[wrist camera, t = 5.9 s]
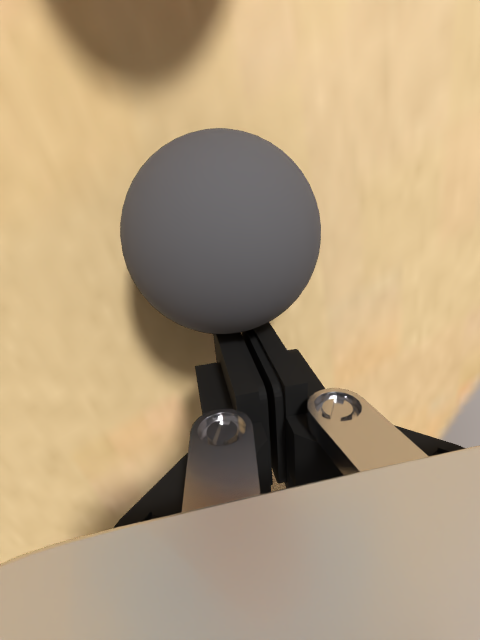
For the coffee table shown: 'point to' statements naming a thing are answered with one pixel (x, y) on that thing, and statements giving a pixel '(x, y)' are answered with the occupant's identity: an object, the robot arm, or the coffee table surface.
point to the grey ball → (220, 231)
